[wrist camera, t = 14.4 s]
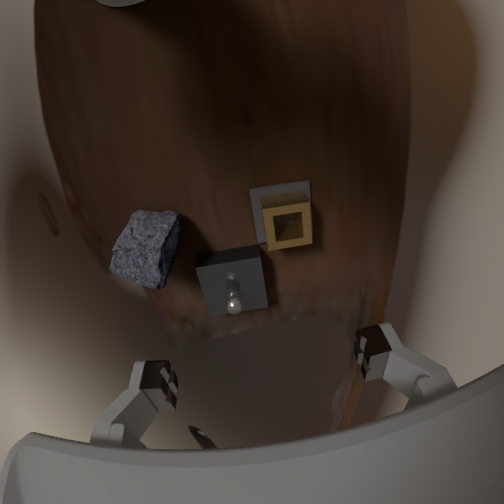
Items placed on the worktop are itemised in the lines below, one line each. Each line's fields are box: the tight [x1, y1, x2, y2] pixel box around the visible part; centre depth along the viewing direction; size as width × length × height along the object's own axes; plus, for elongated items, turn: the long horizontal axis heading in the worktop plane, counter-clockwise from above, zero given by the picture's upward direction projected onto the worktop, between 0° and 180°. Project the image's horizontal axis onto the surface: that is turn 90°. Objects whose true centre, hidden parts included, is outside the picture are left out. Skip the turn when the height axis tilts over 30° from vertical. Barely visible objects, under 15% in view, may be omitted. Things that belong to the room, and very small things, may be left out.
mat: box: [249, 180, 313, 243], centre depth 45 cm, size 9×9×1 cm
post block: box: [195, 244, 268, 316], centre depth 47 cm, size 10×10×9 cm
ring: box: [259, 191, 312, 251], centre depth 43 cm, size 6×6×5 cm
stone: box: [110, 210, 182, 289], centre depth 42 cm, size 12×10×10 cm
